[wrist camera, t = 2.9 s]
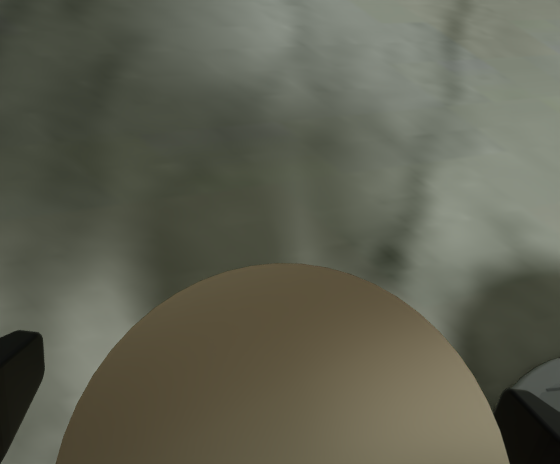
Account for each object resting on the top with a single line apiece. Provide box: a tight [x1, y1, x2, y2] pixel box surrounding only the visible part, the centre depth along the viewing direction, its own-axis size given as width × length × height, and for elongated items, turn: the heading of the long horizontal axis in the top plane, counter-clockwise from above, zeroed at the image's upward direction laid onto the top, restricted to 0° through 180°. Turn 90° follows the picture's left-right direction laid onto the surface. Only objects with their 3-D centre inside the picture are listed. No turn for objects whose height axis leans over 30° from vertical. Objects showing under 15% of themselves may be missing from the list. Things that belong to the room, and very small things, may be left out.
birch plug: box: [56, 263, 510, 464], centre depth 10 cm, size 5×5×10 cm
